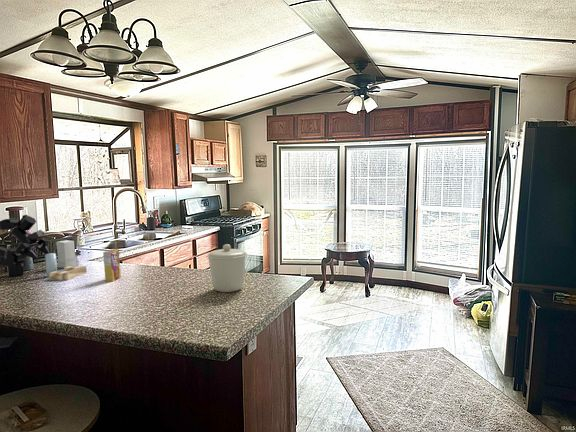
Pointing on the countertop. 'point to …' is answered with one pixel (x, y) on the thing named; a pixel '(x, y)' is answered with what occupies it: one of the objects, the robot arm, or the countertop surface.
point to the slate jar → (50, 263)
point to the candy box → (112, 265)
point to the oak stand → (68, 273)
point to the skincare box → (66, 253)
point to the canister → (227, 268)
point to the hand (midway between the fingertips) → (43, 256)
